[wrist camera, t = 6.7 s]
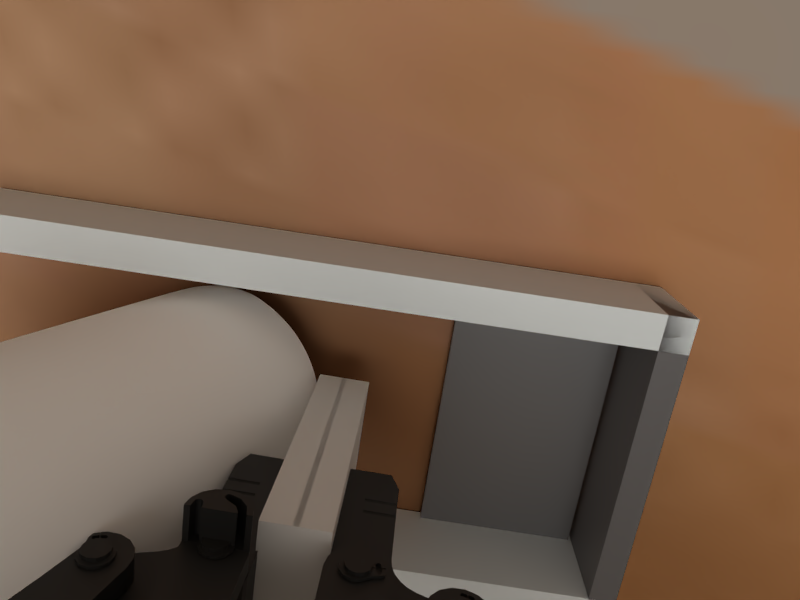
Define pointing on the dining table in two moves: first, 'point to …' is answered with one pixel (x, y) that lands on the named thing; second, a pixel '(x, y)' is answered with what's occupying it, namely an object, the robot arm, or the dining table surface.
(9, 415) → the can
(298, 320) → the dining table surface
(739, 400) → the dining table surface
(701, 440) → the dining table surface
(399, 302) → the grey flat u-shaped frame
